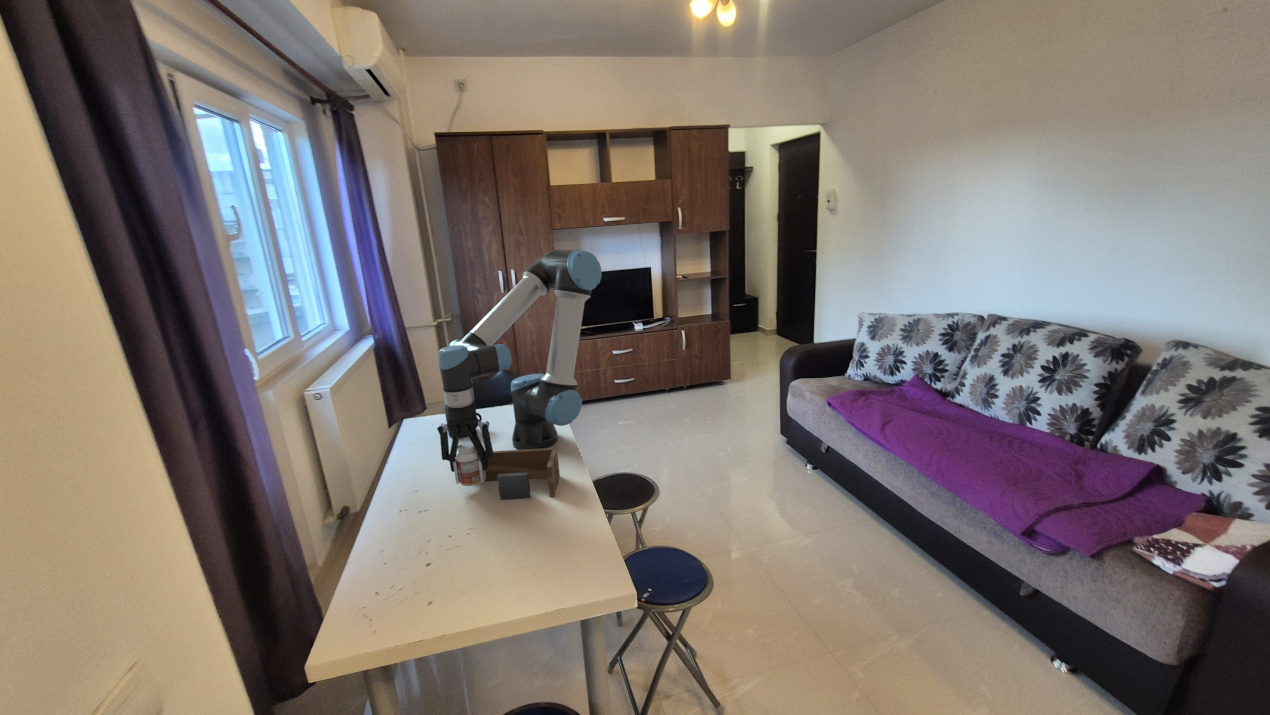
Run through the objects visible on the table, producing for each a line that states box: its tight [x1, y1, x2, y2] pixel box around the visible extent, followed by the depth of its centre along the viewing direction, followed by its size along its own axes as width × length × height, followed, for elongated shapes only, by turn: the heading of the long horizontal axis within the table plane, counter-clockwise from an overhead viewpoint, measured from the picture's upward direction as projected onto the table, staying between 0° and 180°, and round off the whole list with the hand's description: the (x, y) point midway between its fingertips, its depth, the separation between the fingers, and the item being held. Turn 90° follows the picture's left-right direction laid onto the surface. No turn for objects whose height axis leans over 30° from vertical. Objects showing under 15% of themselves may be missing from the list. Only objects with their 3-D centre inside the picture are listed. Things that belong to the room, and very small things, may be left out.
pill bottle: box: [456, 441, 481, 487], centre depth 145 cm, size 6×6×11 cm
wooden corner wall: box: [484, 447, 561, 498], centre depth 146 cm, size 12×26×9 cm, turn 90°
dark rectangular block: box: [497, 472, 532, 501], centre depth 141 cm, size 2×8×7 cm, turn 90°
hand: (471, 480), depth 146 cm, fingers closed on pill bottle, 6 cm apart
